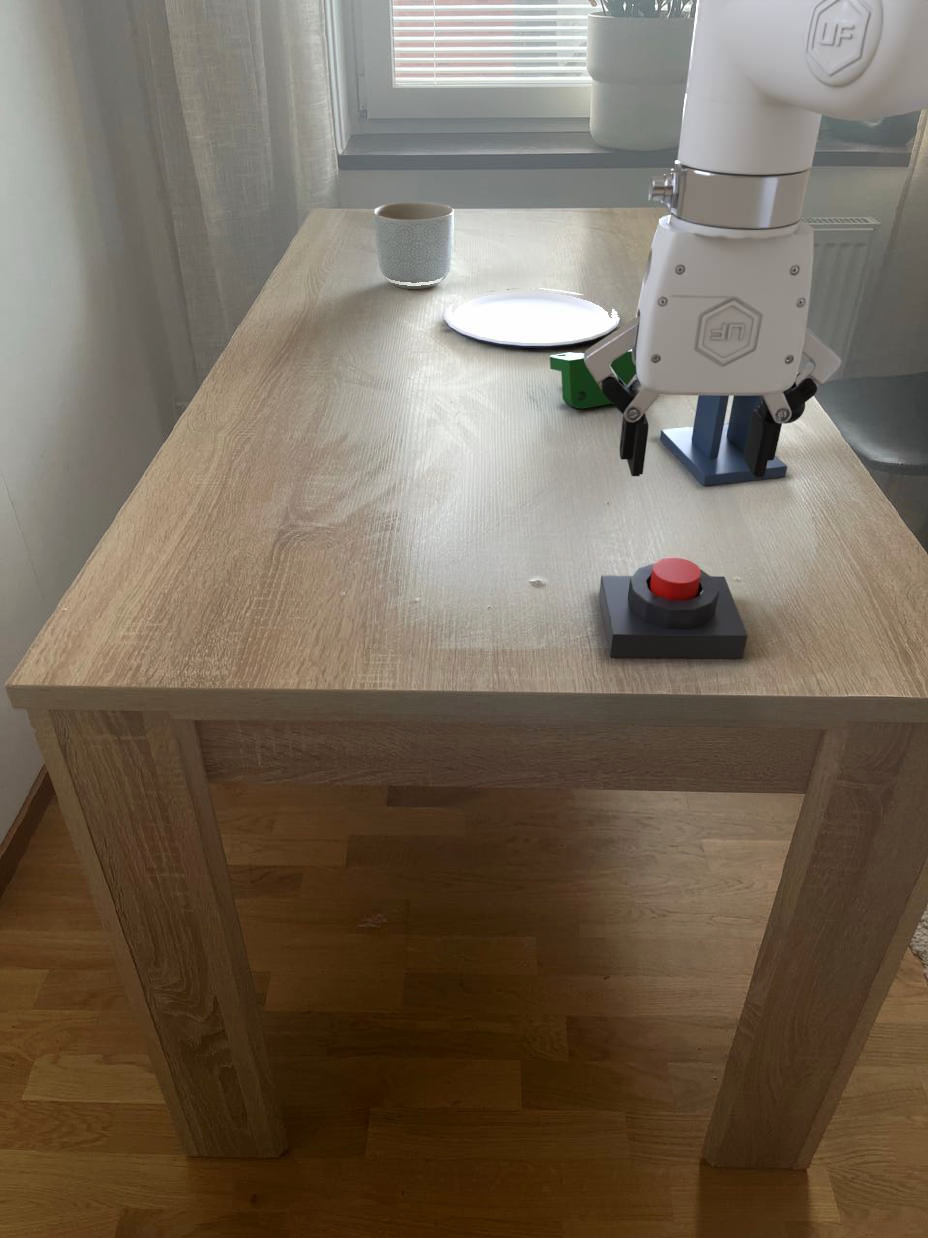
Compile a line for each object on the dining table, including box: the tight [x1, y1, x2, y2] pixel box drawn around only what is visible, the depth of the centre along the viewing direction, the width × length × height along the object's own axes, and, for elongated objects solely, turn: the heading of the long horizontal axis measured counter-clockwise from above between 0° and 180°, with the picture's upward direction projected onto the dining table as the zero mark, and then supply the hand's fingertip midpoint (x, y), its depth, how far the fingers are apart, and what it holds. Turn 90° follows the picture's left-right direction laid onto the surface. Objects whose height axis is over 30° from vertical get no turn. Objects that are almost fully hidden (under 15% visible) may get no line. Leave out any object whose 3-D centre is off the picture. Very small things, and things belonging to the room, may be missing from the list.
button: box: [650, 557, 701, 601], centre depth 70 cm, size 4×4×2 cm
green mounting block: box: [549, 349, 637, 410], centre depth 108 cm, size 12×6×9 cm, turn 106°
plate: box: [443, 287, 621, 349], centre depth 131 cm, size 25×25×1 cm
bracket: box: [659, 395, 788, 487], centre depth 93 cm, size 11×9×14 cm
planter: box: [372, 201, 455, 290], centre depth 144 cm, size 12×12×11 cm
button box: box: [598, 562, 748, 660], centre depth 71 cm, size 10×8×4 cm
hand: (693, 466), depth 64 cm, fingers open, 7 cm apart
